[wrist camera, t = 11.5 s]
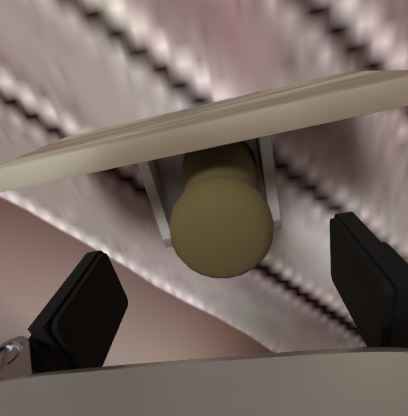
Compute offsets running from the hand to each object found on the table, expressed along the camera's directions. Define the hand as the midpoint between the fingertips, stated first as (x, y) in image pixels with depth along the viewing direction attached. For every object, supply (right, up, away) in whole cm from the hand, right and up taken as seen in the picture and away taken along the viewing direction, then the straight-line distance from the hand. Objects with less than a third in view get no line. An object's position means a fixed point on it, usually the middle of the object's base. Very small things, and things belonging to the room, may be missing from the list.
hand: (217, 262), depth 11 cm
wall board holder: (0, +6, +12) cm, 13 cm away
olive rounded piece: (+1, +6, +11) cm, 12 cm away
